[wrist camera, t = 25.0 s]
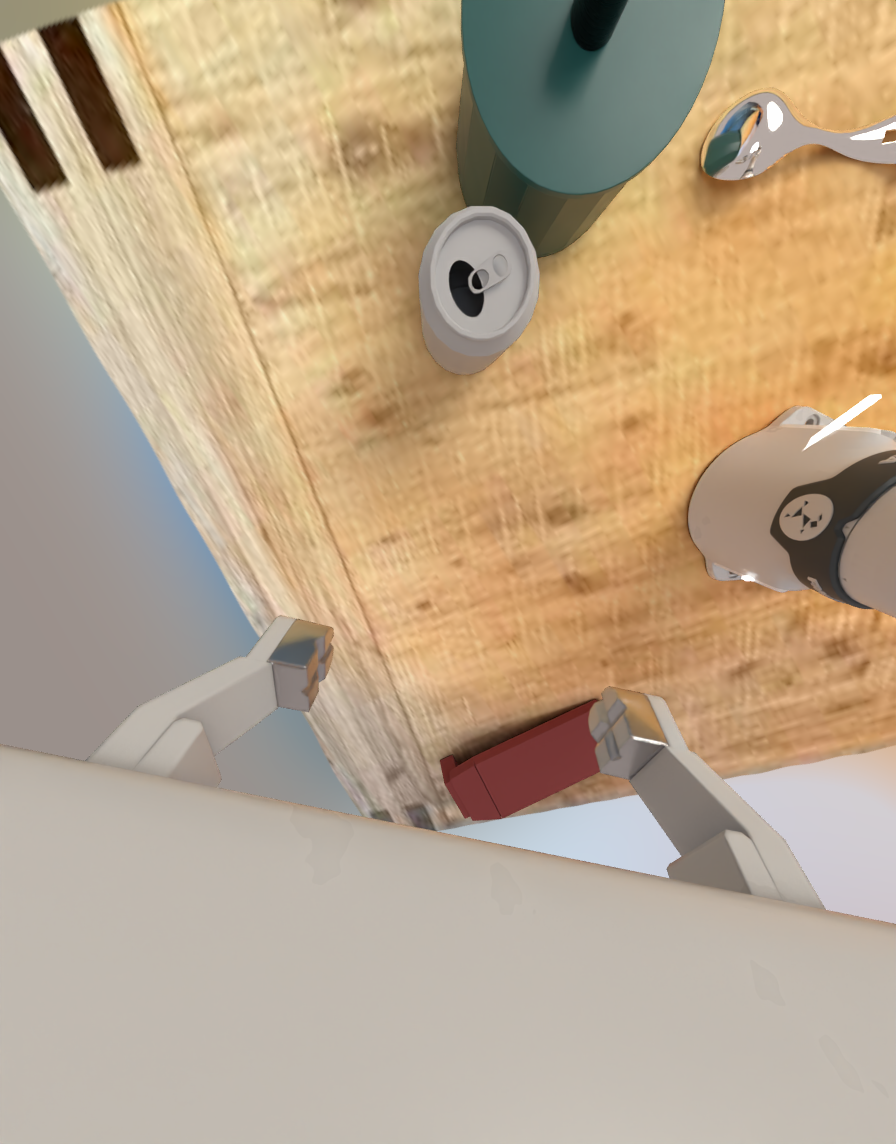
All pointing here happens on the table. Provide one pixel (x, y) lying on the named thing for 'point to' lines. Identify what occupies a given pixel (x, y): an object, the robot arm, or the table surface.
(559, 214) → the pot
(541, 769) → the dark red sloped ramp
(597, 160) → the pot lid
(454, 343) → the can
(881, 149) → the silver spoon
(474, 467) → the table surface
